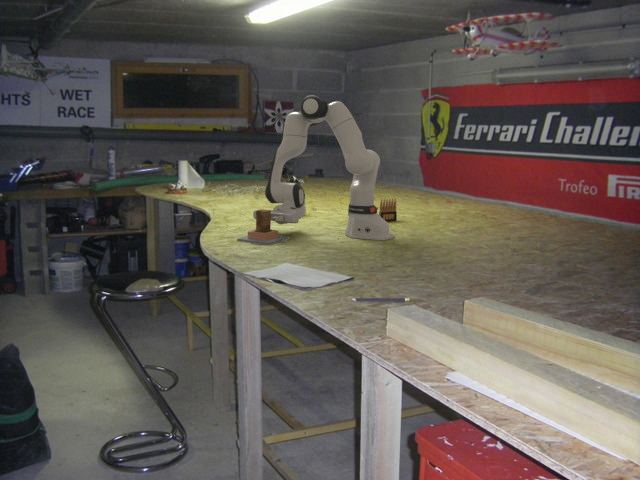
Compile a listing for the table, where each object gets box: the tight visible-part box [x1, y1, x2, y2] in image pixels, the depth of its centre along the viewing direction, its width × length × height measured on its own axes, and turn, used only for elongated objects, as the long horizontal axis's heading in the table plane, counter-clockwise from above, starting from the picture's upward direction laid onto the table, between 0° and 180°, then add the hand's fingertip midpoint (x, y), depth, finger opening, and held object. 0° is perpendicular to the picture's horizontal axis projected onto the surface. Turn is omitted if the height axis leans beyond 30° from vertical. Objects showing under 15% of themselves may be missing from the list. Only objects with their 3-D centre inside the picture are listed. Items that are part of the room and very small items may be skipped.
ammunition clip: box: [378, 198, 398, 223], centre depth 330 cm, size 11×2×12 cm, turn 120°
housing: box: [236, 228, 289, 246], centre depth 272 cm, size 16×16×4 cm
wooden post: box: [255, 208, 272, 233], centre depth 271 cm, size 4×4×12 cm
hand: (265, 218), depth 272 cm, fingers open, 8 cm apart
